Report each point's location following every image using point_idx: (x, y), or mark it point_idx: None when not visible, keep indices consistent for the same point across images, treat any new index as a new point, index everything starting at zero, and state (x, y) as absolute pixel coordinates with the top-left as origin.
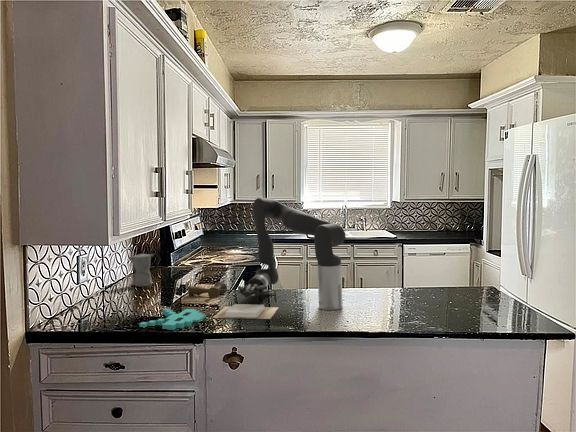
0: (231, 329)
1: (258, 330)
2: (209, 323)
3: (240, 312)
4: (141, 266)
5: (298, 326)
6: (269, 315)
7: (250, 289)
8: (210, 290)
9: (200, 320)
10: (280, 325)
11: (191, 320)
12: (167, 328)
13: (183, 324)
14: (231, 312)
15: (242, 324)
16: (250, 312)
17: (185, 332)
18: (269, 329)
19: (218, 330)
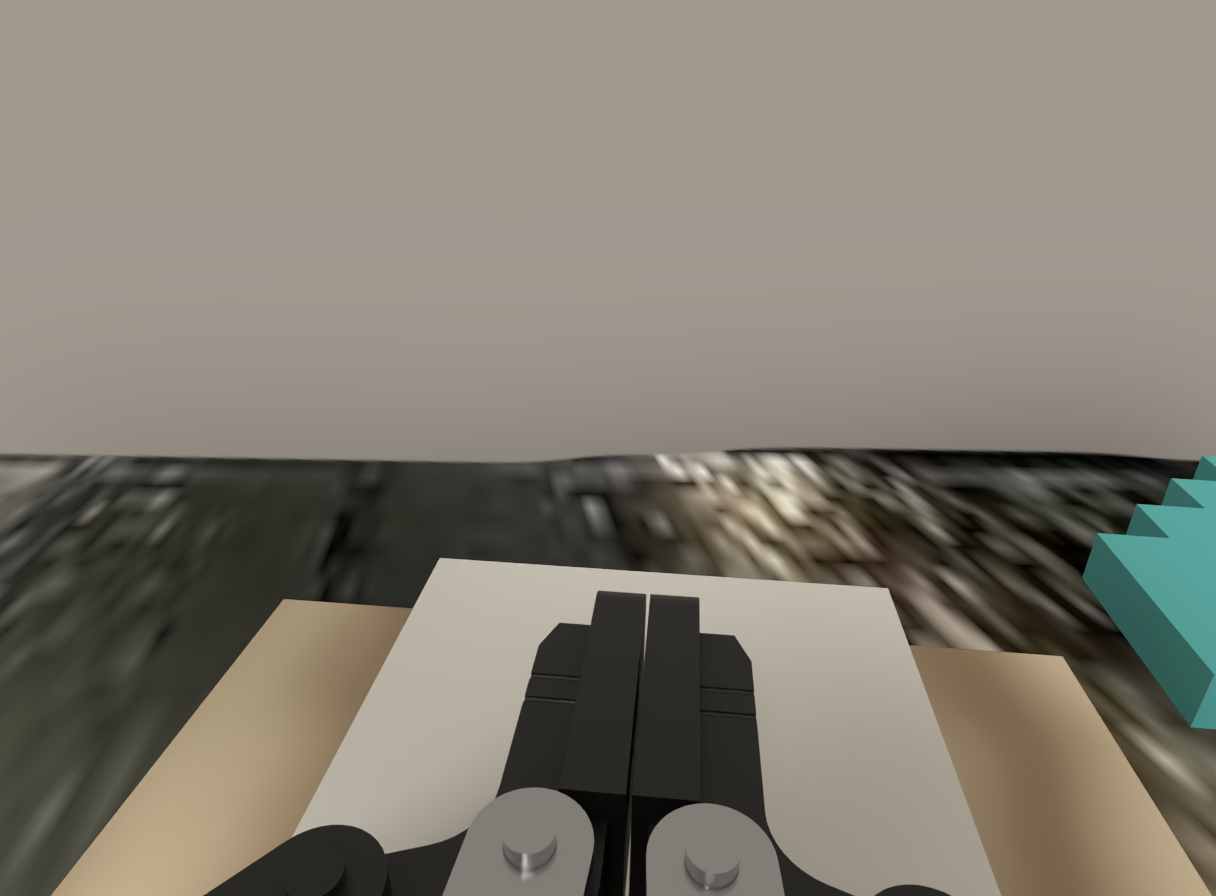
0: (683, 492)
1: (448, 475)
2: (999, 600)
3: (668, 575)
4: None
5: (61, 523)
6: (254, 701)
7: (574, 804)
8: None
9: (1106, 566)
10: (221, 543)
11: (1163, 521)
12: None
13: (1175, 503)
14: (799, 585)
15: None
16: (528, 566)
17: (1032, 463)
18: (352, 486)
19: (786, 482)
